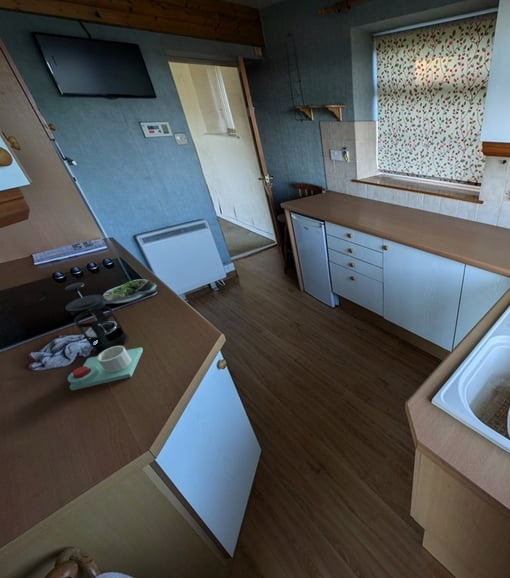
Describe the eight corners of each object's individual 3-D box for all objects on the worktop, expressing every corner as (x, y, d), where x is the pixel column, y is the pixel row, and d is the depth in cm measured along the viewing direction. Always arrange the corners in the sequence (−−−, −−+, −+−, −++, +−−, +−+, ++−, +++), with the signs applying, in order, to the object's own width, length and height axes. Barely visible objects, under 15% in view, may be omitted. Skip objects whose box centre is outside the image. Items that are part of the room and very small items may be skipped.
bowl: (101, 375, 85) (93, 363, 82) (110, 360, 90) (102, 348, 87) (128, 370, 87) (120, 357, 84) (135, 355, 92) (128, 343, 89)
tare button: (73, 379, 82) (70, 375, 81) (78, 371, 85) (75, 367, 84) (87, 376, 83) (84, 372, 82) (92, 368, 86) (89, 364, 85)
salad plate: (112, 313, 112) (106, 303, 110) (91, 300, 120) (85, 290, 117) (164, 290, 127) (160, 281, 124) (143, 280, 134) (139, 271, 132)
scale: (69, 391, 82) (63, 384, 80) (88, 361, 91) (83, 354, 90) (131, 377, 86) (126, 370, 85) (143, 350, 96) (139, 343, 94)
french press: (128, 346, 97) (93, 288, 85) (91, 358, 92) (48, 298, 80) (128, 328, 105) (96, 272, 93) (94, 338, 100) (55, 281, 88)
